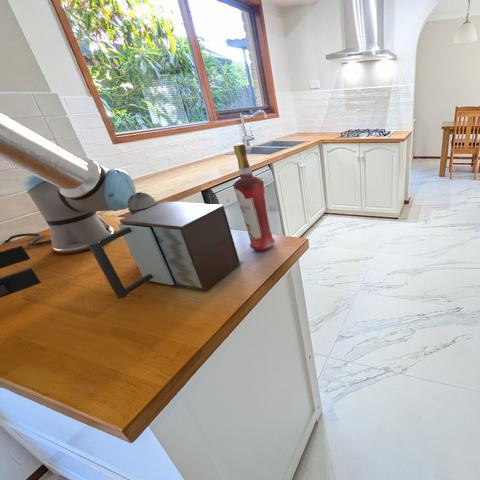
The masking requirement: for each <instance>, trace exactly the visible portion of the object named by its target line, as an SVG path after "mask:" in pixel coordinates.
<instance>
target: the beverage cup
mask: <svg viewBox="0 0 480 480" xmlns="http://www.w3.org/2000/svg"><path fill="white" fill-rule="evenodd" d="M125 180H126V181H127V183H128V185H129V187H130V188H131V190H132V192H133V193H134V194H133V195H132V196H131V197H130V198H129V200H128V208H127V209H128V211H129V212H130V215H133V214H136V213H138V212H141V211H143V210H145V209H148V208H150V207H153V206H155V205H158V202H157V200H156V199H155V198H154V197H153V196H152V195H151V194H148V193H146V192H141V191H140V192H136V193H135V191H134V189H133V188H132V186H131V184H130V183H129V181H128V179H125Z"/></svg>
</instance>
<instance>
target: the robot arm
mask: <svg viewBox="0 0 480 480" xmlns="http://www.w3.org/2000/svg"><path fill="white" fill-rule="evenodd" d="M0 161H1V162H4V163H5V164H8V165H10V166H12V167H14V168H16V169H19V170H21V171H23V172H25V173H28V174H29V175H28V176H25V177H24V178H23V179H22V182H23V183H22V184H23V185H24V187H25V189H26V193H27V194H28V195H29V197H30V198H31V199H32V202H33V203H34V205H35V206H36V207H37V209H38V211H39V212H40V214H41V216H42V217H43V219H44V220H45V221H46V223H47V225H48V227H49V232H50V239H47V240H43V241H38V240H40V239H42V237H43V234H41V233H35V232H34V233H32V232H30V233H29V232H28V233H19V234H14V235H12V236H9V237H10V238H9V237H8V238H9V239H8V240H6V239H5V240H4V244H7V243H9V242H11V240H13V239H16V238H21V237H35V238H32V239H31V240H29V241H28V242H27V245H28V246H31V247H35V246H40V245H45V244H49V243H51V248H52V249H53V250H54V252H55V253H56V254H58V255H69V254H70V255H71V254H77V253H81V252H86V251H88V250H90V248H89V246H88V243H90V242H93V241H96V240H99V239H101V238H103V237H105V236H108V235H110V234H112V233H115V232H116V231H115V228H114V227H112V226H111V225H109V223H107V222H106V221H105V220H104V218H103V217H101V216H100V215H99V214H98V212H118V211H125V210H127V209H129V208H128V200H129V198H130V197H131V196H132V195H133V194H134V193H133V192H132V190H131V188H130V187H129V185H128V183H127V181H126V180H125V179H128V181H129V183H130V184H131V186H132V188H133V189H134V191H135V193H137V192H136V191H137V190H136V185H135V182H134V179H133V178H132V176H131V175H130V174H129V173H128V172H127V171H125V170H123V169H119V168H111V169H109V168H106V167H105V166H103V165H102V164H100V163H98V162H97V161H94V160H92V159H90V158H78V157H76V156H75V155H73V154H71V153H69V152H68V151H66V150H64V149H63V148H61V147H60V146H57V145H56V144H55V143H53V142H51V141H50V140H47V138H44V137H42V136H41V135H39V134H37V133H36V132H34V131H33V130H30V129H28V127H25V126H23V125H22V124H20V123H19V122H17V121H15V120H13V119H11V118H10V117H8V116H7V115H5V114H3V113H1V112H0ZM36 241H38V242H36ZM29 260H31V257H30V256H29V254H28V252H27V251H26V249H25V248H24V246H23V245H18V246H17V245H16V246H14V247H10V248H7V249H3V250H0V269H3V268H6V267H9V266H13V265H16V264H19V263H22V262H26V261H29ZM39 284H42V281H41V280H40V278H39V276H37V274H36V272H35V271H34V269H33V268H32V267H31V266H30V267H27V268H24V269H22V270H19V271H15V272H12V273H10V274H7V275H3V276H0V299H1V298H3V297H6V296H9V295H12V294H15V293H18V292H20V291H24V290H25V289H29V288H31V287H34V286H36V285H39Z"/></svg>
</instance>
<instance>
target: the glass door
mask: <svg viewBox="0 0 480 480" xmlns="http://www.w3.org/2000/svg"><path fill="white" fill-rule="evenodd" d="M117 228H118V229H119V230H117V231H114V232H115V233H112V234H110V235H108V236H105V237H103V238H101V239H99V240H96V241H93V242H90V243H88V246H89V248H90V249H89V250H90V252H91V254H92V255H93V257H94V259H95V260H96V262H97V264H98V266H99V267H100V270H101V271H102V273H103V275H104V276H105V278H106V280H107V282H108V284H109V285H110V287H111V289H112V290H113V293H114V294H115V296H116V298H117V299H124V298H126V297H127V296H128V295H129V294H130V293H132V292H133V291H135V290H136V289H137V288H140V287H141V286H143V285H144V284H147V282H154V283H158V284H163V285H169V286H174V285H173V284H174V282H173V279H172V277H171V275H170V272H169V270H168V268H167V265H166V263H165V261H164V258H163V256H162V254H161V251H160V249H159V247H158V244H157V242H156V240H155V237H154V235H153V233H152V230H151V228H149V227H140V226H132V225H123V224H121V223H119V224H117ZM122 237H123V240H124V241H125V244H126V246H127V248H128V251H129V252H130V254H131V256H132V258H133V260H134V263H135V264H136V267H137V268H138V270H139V273H140V274H141V278H139V279H138V280H136V281H135V282H133V283H131V284H130V285H128V286H126V287H125V286H124V284H123V283H122V281H121V279H120V277H119V275H118V273H117V272H116V269H115V268H114V266H113V264H112V262H111V260H110V258H109V256H108V255H107V252H106V251H105V249H104V247H103V246H104V245H106V244H108V243H110V242H112V241H115V240H117V239H119V238H122Z"/></svg>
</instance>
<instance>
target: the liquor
mask: <svg viewBox="0 0 480 480" xmlns="http://www.w3.org/2000/svg"><path fill="white" fill-rule="evenodd" d="M233 151H234V153H235V156H236V159H237V165H238V171H239V177H238V178H236V179H235V181H233V183H232V186H233V187H232V188H233V189H234V193H235V197H236V199H237V202H238V206H239V208H240V212H241V215H242V218H243V221H244V224H245V227H246V231H247V234H248V239H249V241H250V243H249V247H250V248H251V249H253V250H256V251H257V252H263V251H264V252H265V251H267V250H269V249H271V248H272V247H273V246H274V244H275V242H276V240H275V238H274V237H273V232H272V228H271V222H270V216H269V209H268V201H267V197H266V191H265V185H264V179H263V178H261V177H260V176H258V175H254V174H253V172H252V169H251V165H250V162H249V159H248V155H247V153H248V152H247V147H246V143H244V142H241V143H235V144H233Z"/></svg>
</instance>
